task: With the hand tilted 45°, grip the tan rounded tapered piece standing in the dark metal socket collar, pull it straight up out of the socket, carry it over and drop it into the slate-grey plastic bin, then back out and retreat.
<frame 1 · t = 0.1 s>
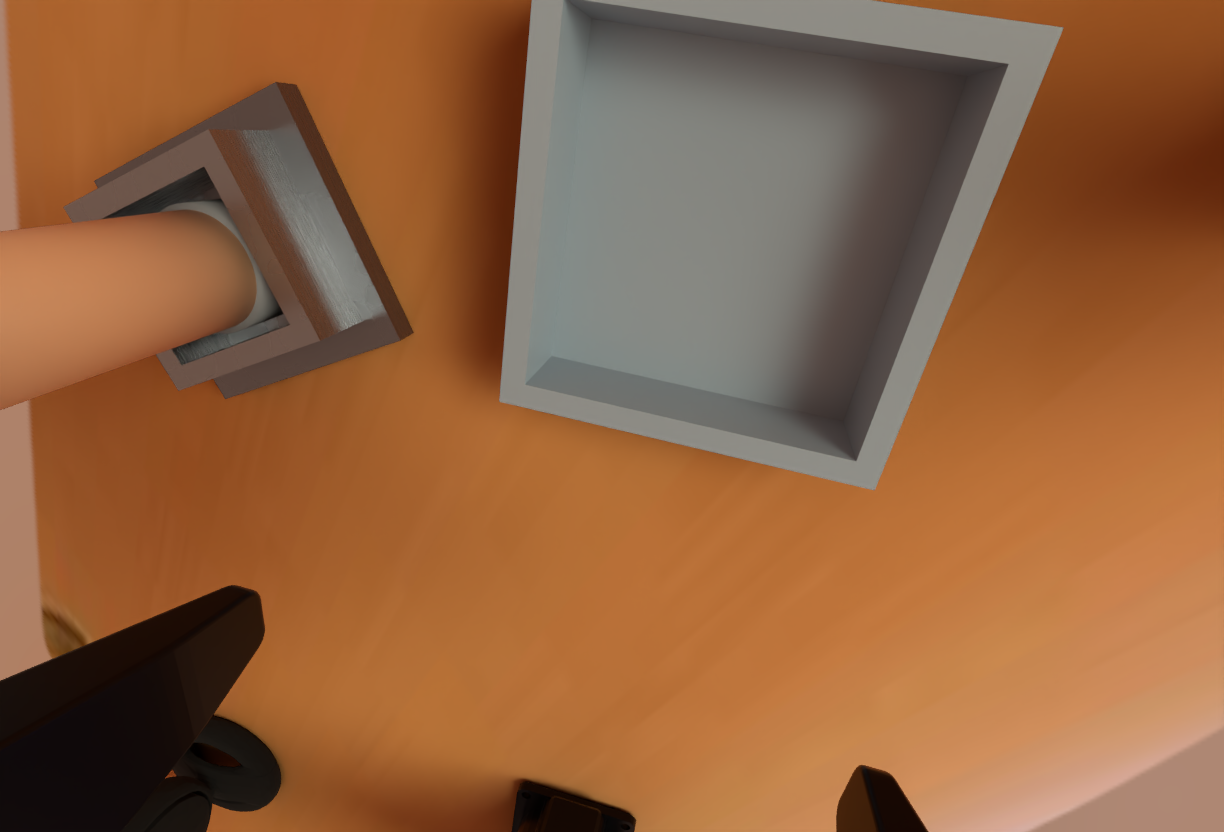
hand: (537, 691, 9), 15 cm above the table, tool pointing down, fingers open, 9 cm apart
webcam: (233, 752, 39), on the table
stud base: (266, 256, 23), on the table
tan rounded tapered piece: (247, 260, 23), point 1 cm above the table, touching stud base
bin: (728, 234, 20), on the table
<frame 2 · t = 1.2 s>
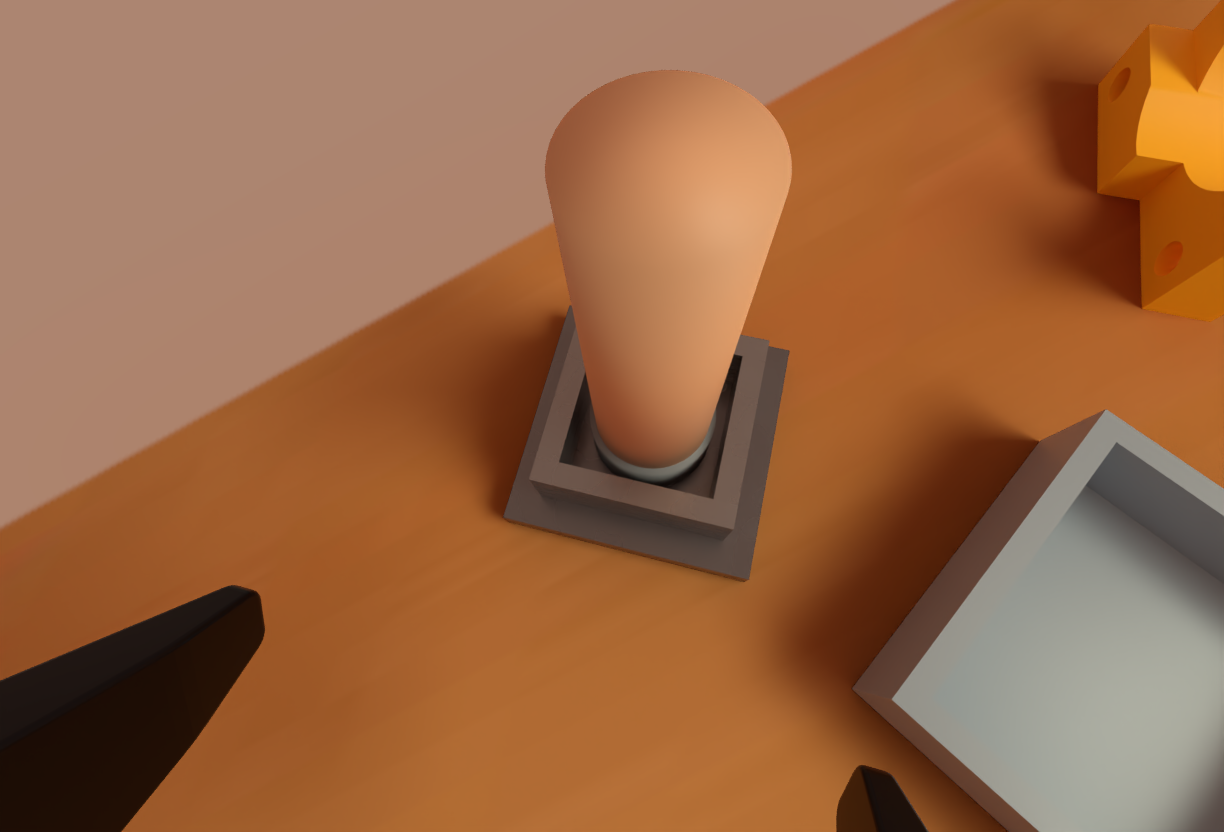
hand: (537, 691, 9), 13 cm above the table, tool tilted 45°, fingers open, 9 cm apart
stud base: (651, 438, 24), on the table
tan rounded tapered piece: (651, 430, 23), point 1 cm above the table, touching stud base
pipe clamp: (1143, 199, 27), on the table
bin: (1107, 682, 20), on the table
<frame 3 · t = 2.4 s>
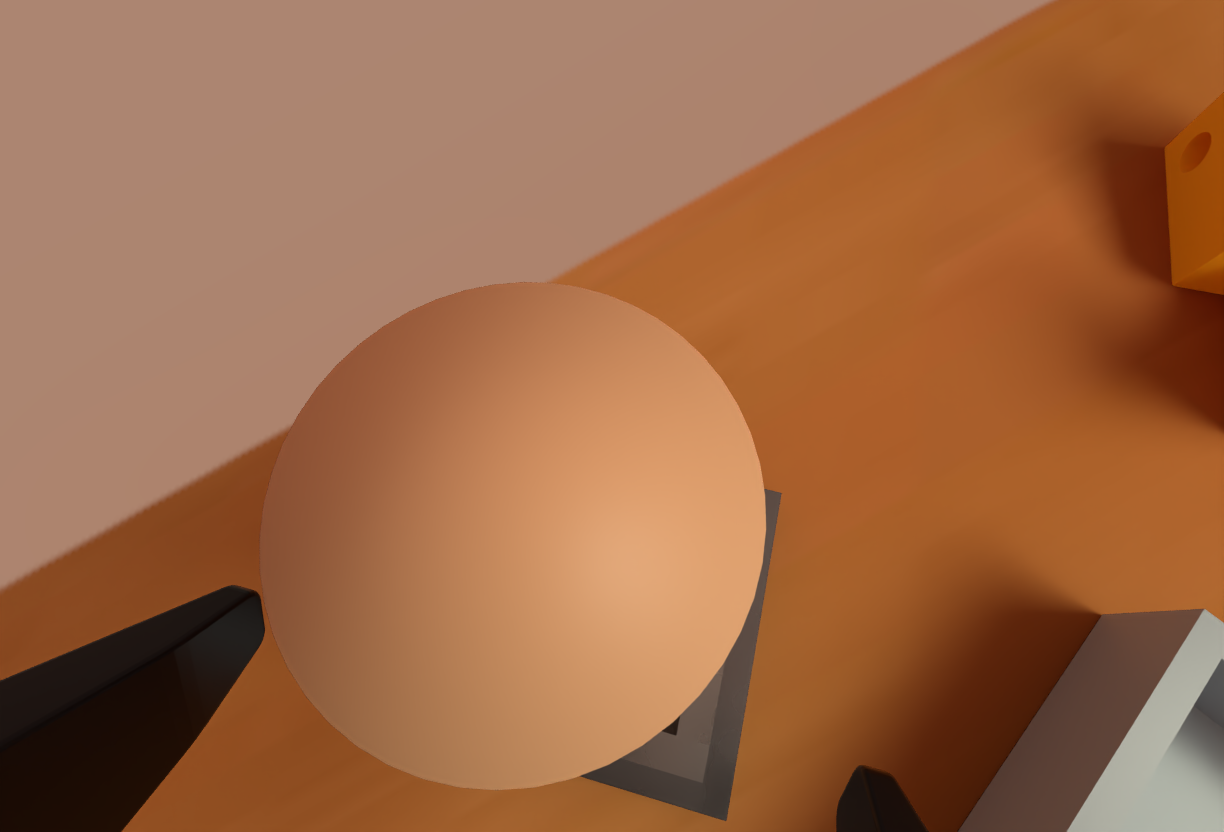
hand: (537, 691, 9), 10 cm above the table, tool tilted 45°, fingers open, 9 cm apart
stud base: (605, 604, 19), on the table
tan rounded tapered piece: (603, 602, 18), point 1 cm above the table, touching stud base
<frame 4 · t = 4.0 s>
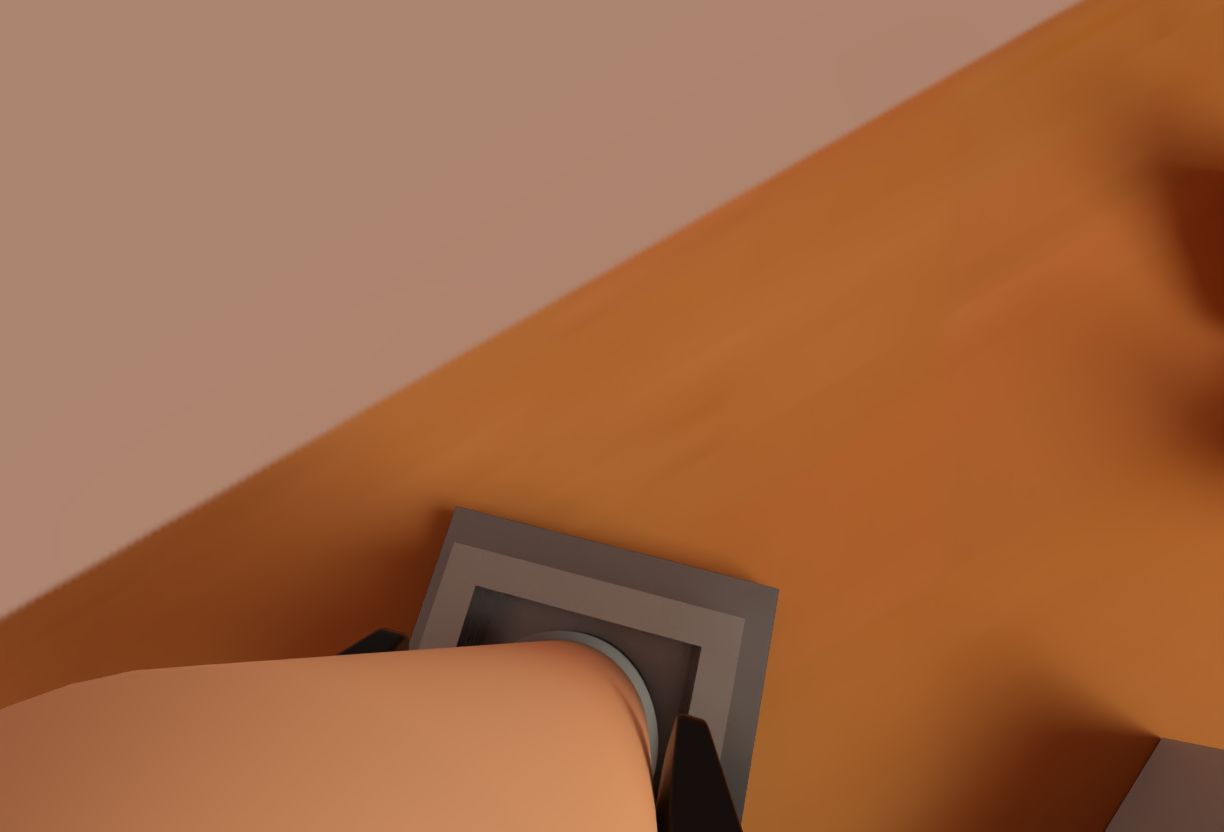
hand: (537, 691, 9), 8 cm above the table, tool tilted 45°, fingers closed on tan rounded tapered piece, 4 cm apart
stud base: (570, 720, 16), on the table
tan rounded tapered piece: (566, 725, 15), point 1 cm above the table, touching gripper, stud base
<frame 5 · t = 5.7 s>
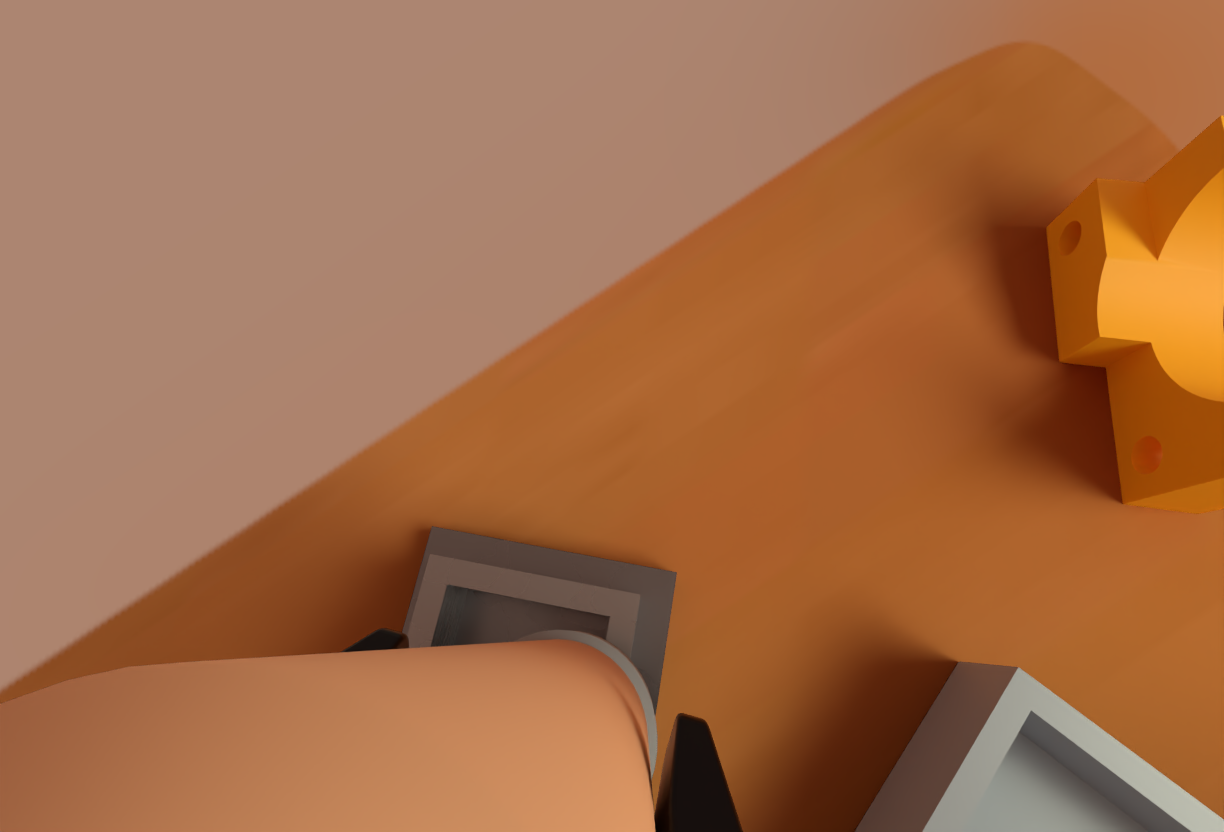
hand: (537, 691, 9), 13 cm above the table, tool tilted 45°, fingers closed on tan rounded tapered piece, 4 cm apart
stud base: (527, 681, 21), on the table
tan rounded tapered piece: (565, 724, 15), point 6 cm above the table, touching gripper
pipe clamp: (1108, 362, 25), on the table
when the fingers open (9 cm above the table, at t = 7.9 s): tan rounded tapered piece drops 1 cm, resting on bin.
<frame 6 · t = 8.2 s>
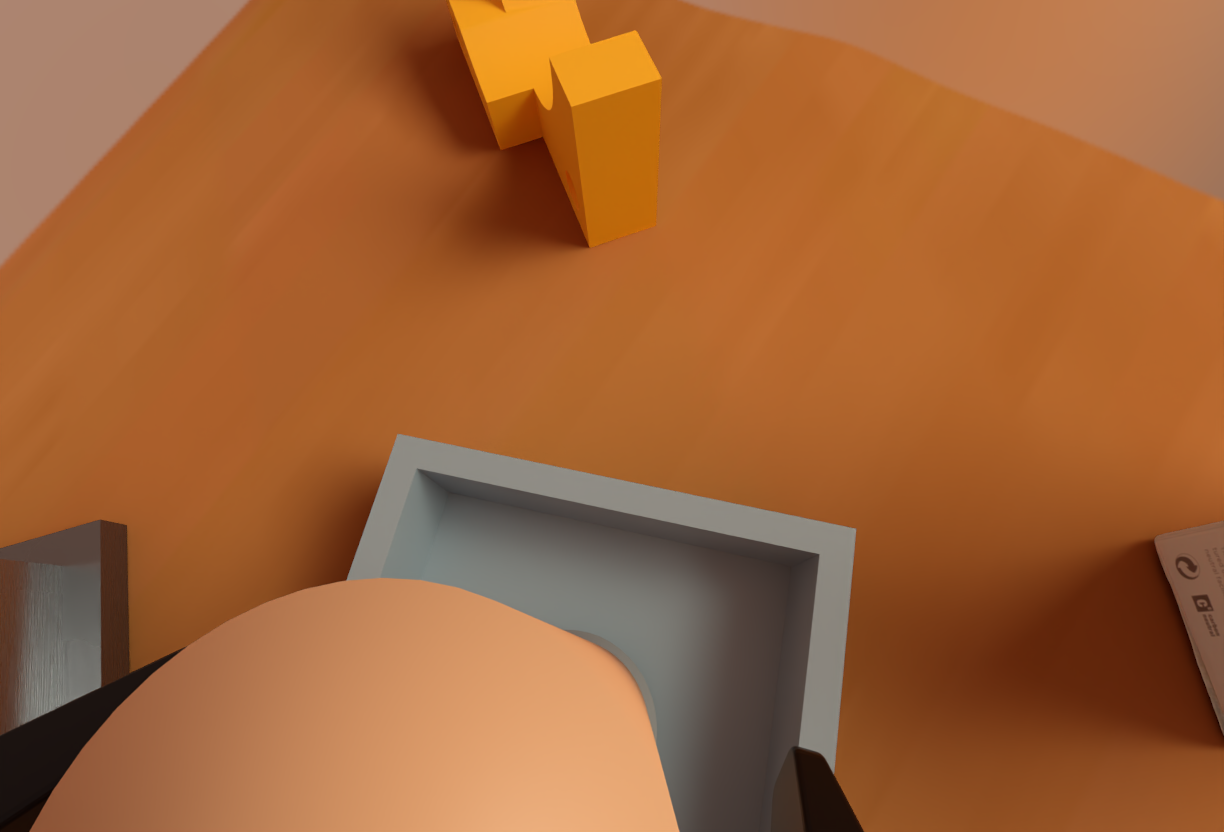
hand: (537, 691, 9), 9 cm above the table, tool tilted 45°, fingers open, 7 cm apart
tan rounded tapered piece: (572, 720, 16), point 1 cm above the table, touching bin
pipe clamp: (550, 132, 25), on the table
bin: (575, 714, 17), on the table
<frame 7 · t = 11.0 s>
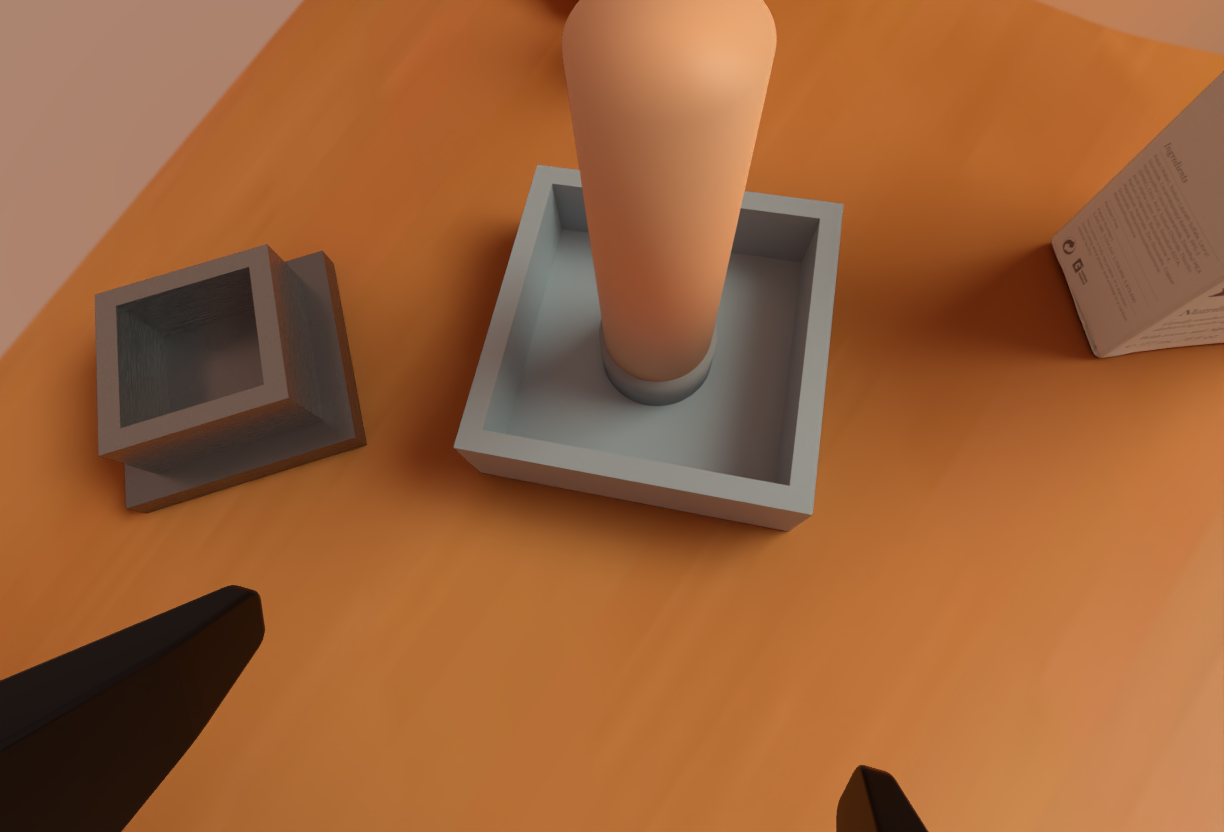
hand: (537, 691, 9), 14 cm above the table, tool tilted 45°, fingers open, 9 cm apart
skincare box: (1164, 287, 25), on the table
stud base: (246, 380, 26), on the table
tan rounded tapered piece: (657, 354, 25), point 1 cm above the table, touching bin
bin: (657, 359, 25), on the table
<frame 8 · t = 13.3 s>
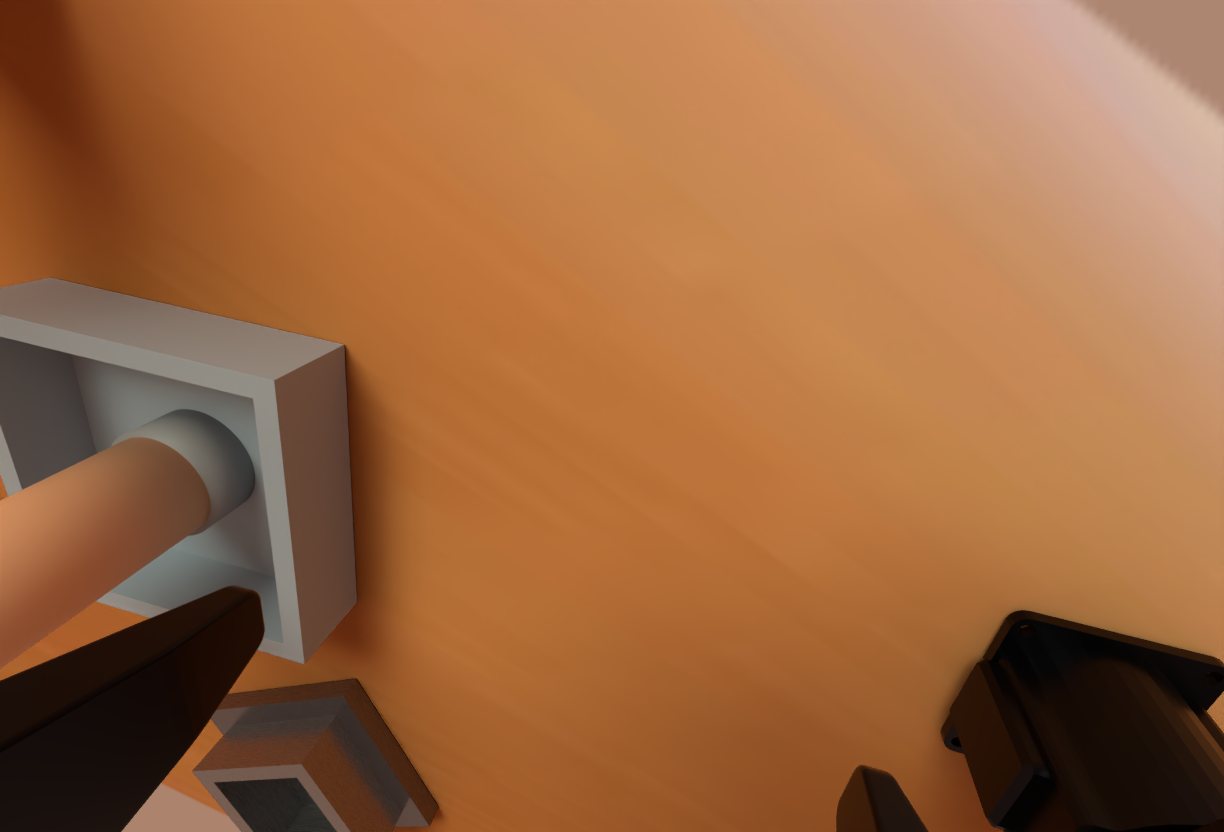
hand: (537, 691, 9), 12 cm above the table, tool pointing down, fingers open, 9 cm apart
stud base: (329, 751, 32), on the table
tan rounded tapered piece: (205, 460, 24), point 1 cm above the table, touching bin
bin: (215, 452, 25), on the table
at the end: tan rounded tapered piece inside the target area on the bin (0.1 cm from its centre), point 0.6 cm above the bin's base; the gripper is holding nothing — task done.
